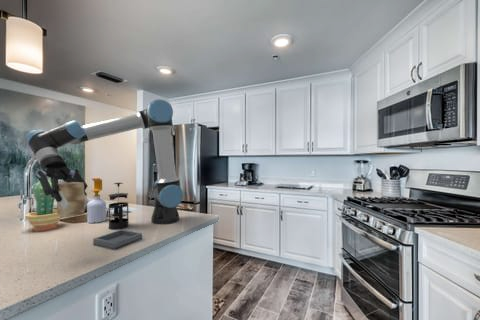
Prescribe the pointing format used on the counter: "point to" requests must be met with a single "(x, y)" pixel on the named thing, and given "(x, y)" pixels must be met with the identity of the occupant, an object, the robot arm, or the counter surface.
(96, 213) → the soap bottle
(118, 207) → the french press
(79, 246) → the counter surface
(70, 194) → the oak block
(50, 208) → the potted cactus
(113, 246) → the slate tray
